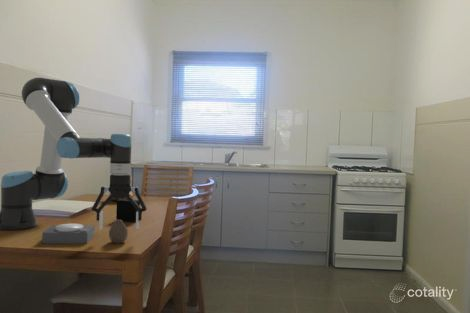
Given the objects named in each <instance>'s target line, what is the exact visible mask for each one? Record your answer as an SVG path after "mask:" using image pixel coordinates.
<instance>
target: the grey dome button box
mask: <svg viewBox="0 0 470 313" xmlns="http://www.w3.org/2000/svg"><path fill="white" fill-rule="evenodd" d="M41 233H42V236H41V237H42V239H41V242H42V244H80V245H81V244H88V243H89V242H90V241H91V239H92V238H94V236H95V225H86V224H85V225H83V224H81V223H62V224H53V225H51V226H50V227H48V228H47V229H45V230H44V231H42V232H41Z"/></svg>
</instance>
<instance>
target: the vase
mask: <svg viewBox="0 0 470 313" xmlns="http://www.w3.org/2000/svg"><path fill="white" fill-rule="evenodd" d="M128 234H129V232H128V227H127V226H126V224H125V223H124V221H122V220H121V219H117V220H116V219H115V221H114V222H113V224H112V225H111V226H110V228H109V231H108V237H109V240H110V242H111V243H113V244H124V242H126V240H127V238H128Z"/></svg>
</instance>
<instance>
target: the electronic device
mask: <svg viewBox="0 0 470 313" xmlns="http://www.w3.org/2000/svg"><path fill="white" fill-rule="evenodd" d="M134 201H135V202H136V203H137V204H138V205H139V207H140V208H141V205H140V203H139V201H138V199H137V200H136V199H134ZM137 212H138V211H137V210H136V209H135V207H134V206H133V205H132V204H131V203H130V201H129V200H128V199H120V200H118V201H116V213H115V215H116V216H115V217H116V219H115V220H117V219H121V220H122V221H123V223H124V222H125V223H126V222H127V223H136V213H137Z"/></svg>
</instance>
